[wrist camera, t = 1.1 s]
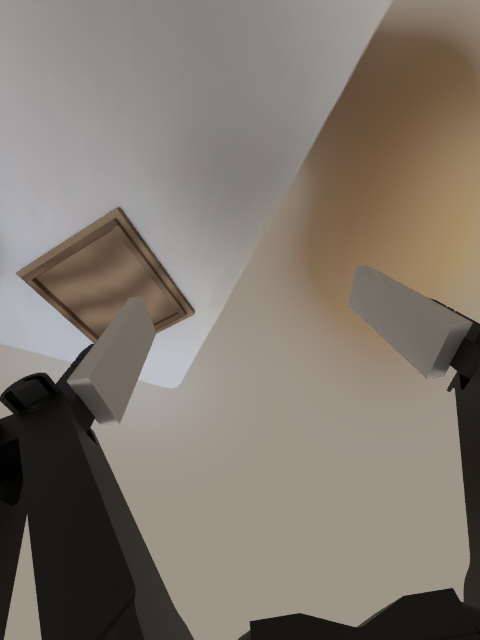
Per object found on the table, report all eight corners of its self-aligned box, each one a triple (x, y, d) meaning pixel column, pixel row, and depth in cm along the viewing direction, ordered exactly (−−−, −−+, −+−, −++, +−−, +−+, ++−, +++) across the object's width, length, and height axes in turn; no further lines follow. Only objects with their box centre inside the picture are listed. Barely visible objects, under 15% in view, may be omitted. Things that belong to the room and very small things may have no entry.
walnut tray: (20, 270, 38) (10, 275, 36) (119, 207, 34) (113, 208, 32) (111, 353, 48) (107, 360, 46) (194, 311, 45) (193, 316, 43)
